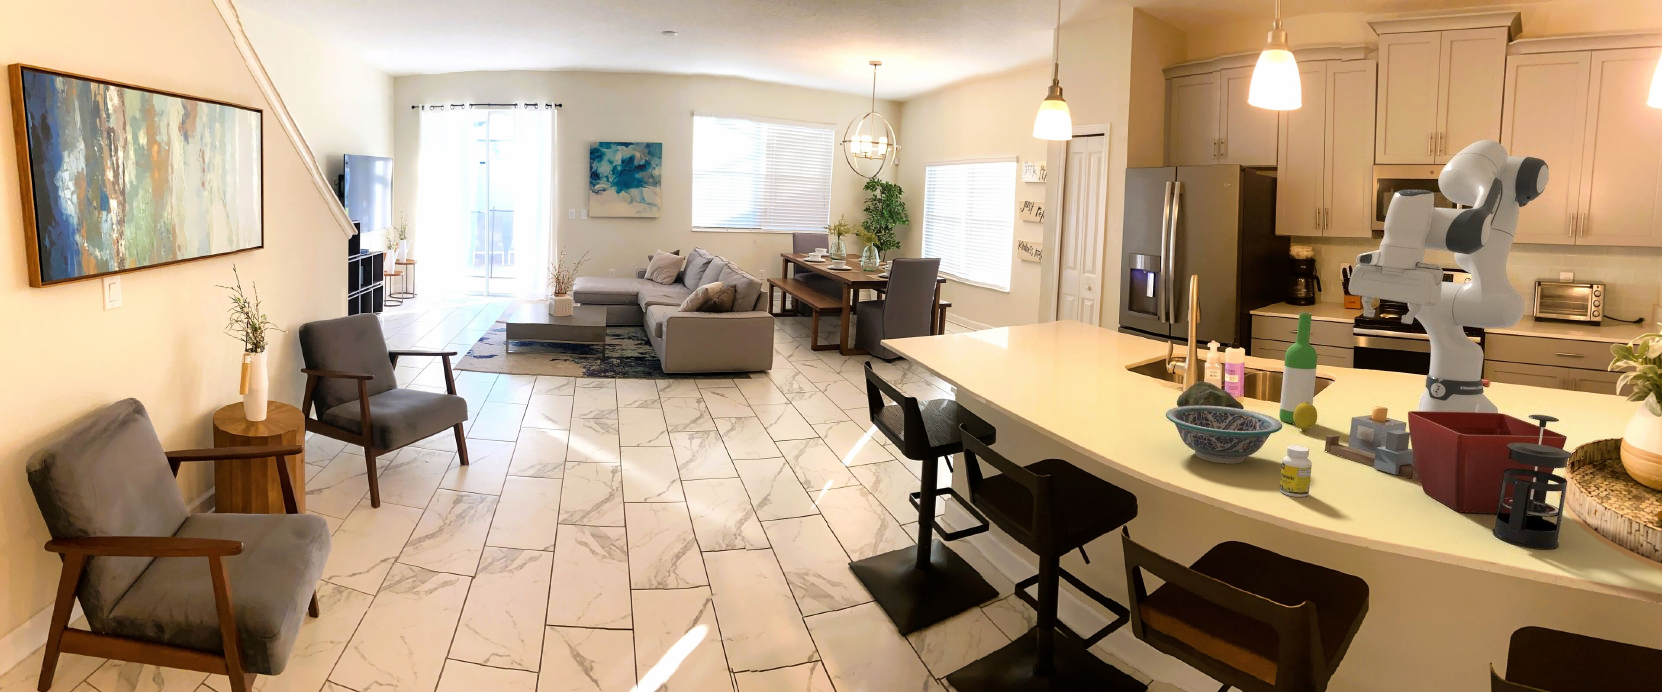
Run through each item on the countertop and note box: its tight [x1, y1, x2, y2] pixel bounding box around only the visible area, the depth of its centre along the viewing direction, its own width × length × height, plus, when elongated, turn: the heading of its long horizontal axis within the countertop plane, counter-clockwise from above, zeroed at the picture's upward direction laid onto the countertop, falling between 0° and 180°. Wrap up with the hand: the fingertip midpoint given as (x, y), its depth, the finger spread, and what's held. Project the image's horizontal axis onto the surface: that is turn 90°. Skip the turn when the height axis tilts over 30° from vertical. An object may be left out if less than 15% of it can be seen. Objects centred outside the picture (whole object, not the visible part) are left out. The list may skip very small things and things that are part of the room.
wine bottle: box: [1279, 312, 1318, 425], centre depth 233 cm, size 8×8×30 cm
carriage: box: [1373, 430, 1415, 475], centre depth 193 cm, size 6×5×9 cm
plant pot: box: [1407, 410, 1568, 515], centre depth 172 cm, size 19×19×17 cm
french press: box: [1492, 414, 1573, 551], centre depth 153 cm, size 12×9×23 cm
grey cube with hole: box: [1348, 414, 1407, 454], centre depth 207 cm, size 8×8×8 cm
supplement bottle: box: [1279, 445, 1313, 498], centre depth 178 cm, size 5×5×10 cm
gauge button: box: [1371, 405, 1389, 422], centre depth 206 cm, size 3×3×5 cm
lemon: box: [1293, 402, 1318, 432], centre depth 226 cm, size 6×6×8 cm
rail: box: [1324, 434, 1420, 481], centre depth 198 cm, size 3×23×4 cm, turn 21°
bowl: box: [1165, 406, 1283, 465], centre depth 202 cm, size 25×25×10 cm
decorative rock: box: [1176, 380, 1245, 410], centre depth 241 cm, size 15×16×10 cm
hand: (1386, 319), depth 199 cm, fingers open, 8 cm apart
